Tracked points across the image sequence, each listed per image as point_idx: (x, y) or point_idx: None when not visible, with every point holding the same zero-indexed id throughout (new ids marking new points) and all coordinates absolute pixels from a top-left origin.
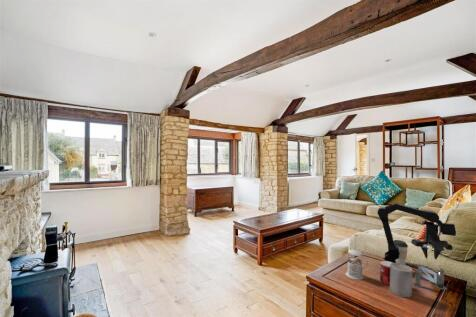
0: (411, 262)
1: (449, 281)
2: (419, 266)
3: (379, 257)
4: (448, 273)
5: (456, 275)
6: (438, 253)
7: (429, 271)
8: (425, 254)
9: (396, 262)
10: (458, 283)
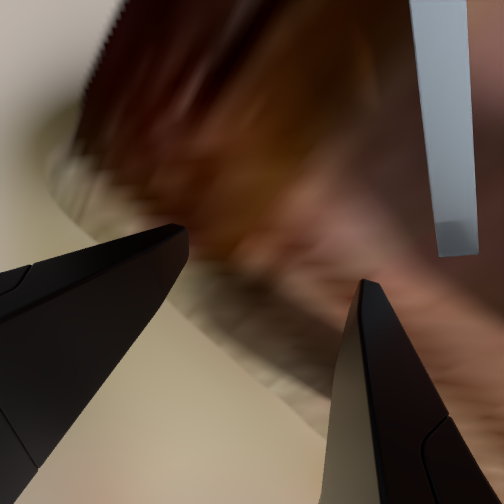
0: (280, 387)
1: (176, 95)
2: (477, 226)
3: (499, 490)
4: (117, 237)
5: (79, 210)
6: (8, 289)
7: (466, 28)
8: (416, 372)
9: None
10: (118, 62)
